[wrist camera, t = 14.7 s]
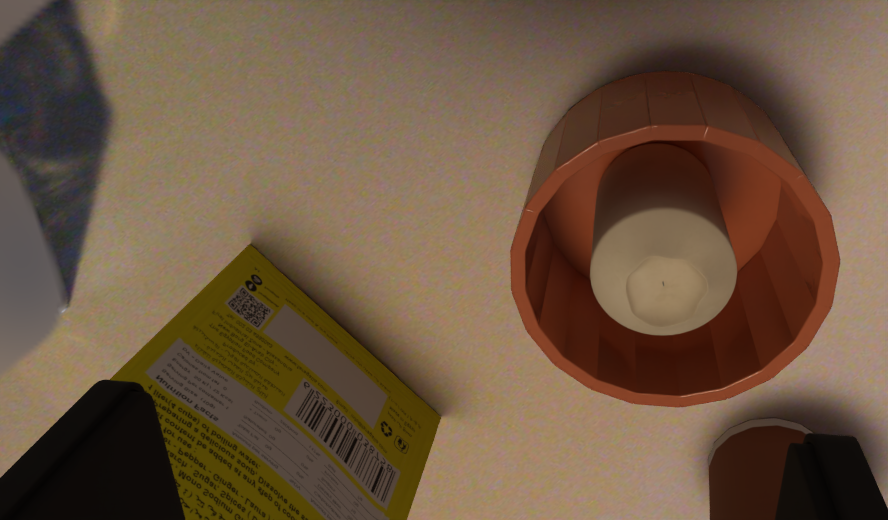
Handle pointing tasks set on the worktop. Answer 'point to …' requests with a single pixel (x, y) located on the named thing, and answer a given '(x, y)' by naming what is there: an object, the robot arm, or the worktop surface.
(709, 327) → the pot cup
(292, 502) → the food package
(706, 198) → the candle
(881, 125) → the worktop surface
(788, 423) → the coffee cup
